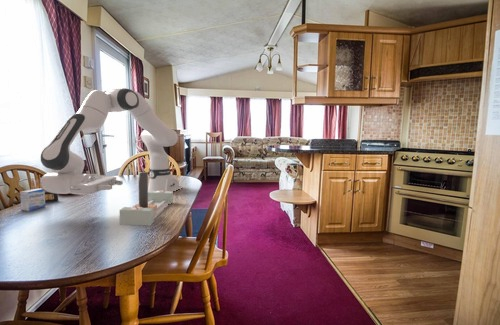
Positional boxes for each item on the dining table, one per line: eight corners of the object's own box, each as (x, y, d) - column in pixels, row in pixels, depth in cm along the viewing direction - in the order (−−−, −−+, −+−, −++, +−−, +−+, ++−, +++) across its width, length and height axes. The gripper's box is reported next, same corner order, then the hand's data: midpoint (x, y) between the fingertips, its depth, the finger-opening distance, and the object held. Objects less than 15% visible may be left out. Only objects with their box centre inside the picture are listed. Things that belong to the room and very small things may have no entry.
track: (150, 201, 139) (150, 189, 138) (173, 202, 139) (173, 190, 138) (119, 224, 105) (119, 209, 104) (150, 225, 105) (149, 209, 104)
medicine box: (28, 211, 117) (27, 192, 116) (20, 210, 118) (19, 191, 117) (45, 206, 125) (44, 188, 124) (38, 205, 126) (37, 187, 125)
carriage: (136, 208, 117) (136, 170, 115) (157, 209, 118) (156, 171, 116) (129, 214, 109) (128, 173, 107) (150, 214, 110) (150, 174, 108)
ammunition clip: (31, 203, 129) (29, 179, 127) (31, 202, 130) (30, 178, 129) (57, 201, 134) (56, 178, 133) (58, 200, 136) (57, 177, 134)
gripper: (67, 181, 101) (103, 182, 101) (96, 173, 121) (127, 174, 121) (67, 197, 101) (104, 198, 102) (97, 186, 122) (127, 187, 122)
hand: (116, 185), depth 112 cm, fingers open, 8 cm apart
